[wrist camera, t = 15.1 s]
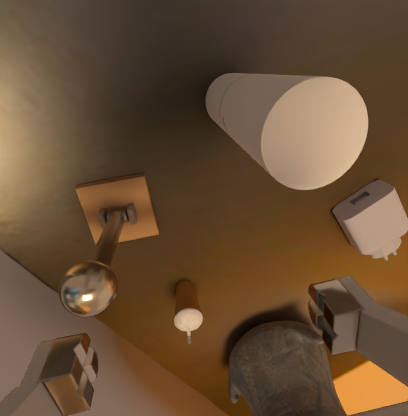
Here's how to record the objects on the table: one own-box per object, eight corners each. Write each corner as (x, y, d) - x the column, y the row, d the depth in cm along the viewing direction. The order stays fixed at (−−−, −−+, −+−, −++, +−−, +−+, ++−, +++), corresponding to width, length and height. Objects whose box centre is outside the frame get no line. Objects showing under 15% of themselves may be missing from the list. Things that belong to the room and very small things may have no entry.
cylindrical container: (214, 134, 43) (274, 204, 20) (198, 84, 40) (248, 102, 17) (260, 116, 43) (372, 168, 20) (248, 64, 40) (363, 58, 17)
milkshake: (172, 300, 55) (175, 345, 46) (172, 277, 53) (174, 319, 44) (196, 298, 56) (204, 342, 47) (197, 275, 53) (204, 317, 44)
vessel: (261, 390, 70) (296, 501, 52) (202, 346, 61) (220, 461, 43) (338, 341, 66) (404, 442, 48) (288, 287, 57) (346, 385, 39)
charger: (360, 263, 57) (329, 209, 51) (403, 236, 56) (377, 177, 50) (377, 278, 53) (345, 222, 47) (423, 250, 52) (397, 188, 45)
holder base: (77, 184, 43) (70, 195, 40) (144, 172, 44) (143, 181, 40) (98, 241, 48) (93, 255, 44) (159, 229, 48) (158, 242, 45)
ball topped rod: (41, 287, 24) (61, 335, 25) (103, 275, 24) (119, 323, 26) (97, 202, 43) (107, 232, 45) (131, 195, 43) (139, 226, 45)
